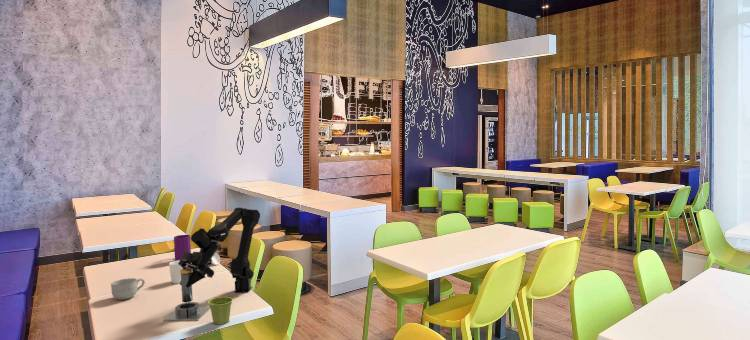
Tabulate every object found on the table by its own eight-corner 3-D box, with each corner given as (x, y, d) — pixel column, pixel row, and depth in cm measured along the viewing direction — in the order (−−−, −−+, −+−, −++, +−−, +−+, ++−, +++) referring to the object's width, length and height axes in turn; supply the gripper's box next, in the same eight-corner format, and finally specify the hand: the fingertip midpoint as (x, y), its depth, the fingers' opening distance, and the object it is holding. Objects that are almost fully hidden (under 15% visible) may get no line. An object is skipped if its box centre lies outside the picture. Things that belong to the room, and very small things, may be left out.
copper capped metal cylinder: (194, 298, 199) (193, 268, 198) (190, 302, 194) (188, 271, 193) (184, 298, 199) (183, 268, 198) (179, 302, 194) (178, 271, 193)
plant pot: (206, 320, 190) (205, 299, 190) (230, 315, 195) (229, 295, 194) (211, 328, 182) (210, 306, 181) (236, 323, 187) (235, 301, 186)
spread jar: (203, 261, 280) (202, 242, 279) (222, 260, 281) (221, 241, 280) (197, 267, 268) (196, 246, 267) (218, 266, 269) (217, 246, 268)
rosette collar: (210, 307, 204) (210, 300, 203) (197, 320, 190) (197, 312, 189) (178, 307, 204) (178, 300, 204) (163, 320, 190) (162, 312, 190)
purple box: (176, 264, 275) (175, 238, 274) (171, 258, 288) (170, 234, 287) (193, 261, 280) (192, 236, 279) (186, 256, 293) (185, 232, 292)
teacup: (111, 303, 211) (110, 285, 211) (112, 296, 221) (111, 279, 220) (145, 298, 218) (144, 281, 217) (145, 291, 227) (144, 275, 227)
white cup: (180, 284, 237) (179, 264, 236) (166, 283, 239) (165, 264, 238) (189, 279, 245) (189, 260, 244) (176, 278, 246) (175, 260, 246)
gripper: (181, 240, 203) (157, 272, 196) (206, 246, 192) (182, 280, 184) (198, 254, 210) (176, 285, 202) (223, 261, 199) (201, 294, 191)
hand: (183, 286), depth 195 cm, fingers closed on copper capped metal cylinder, 4 cm apart
